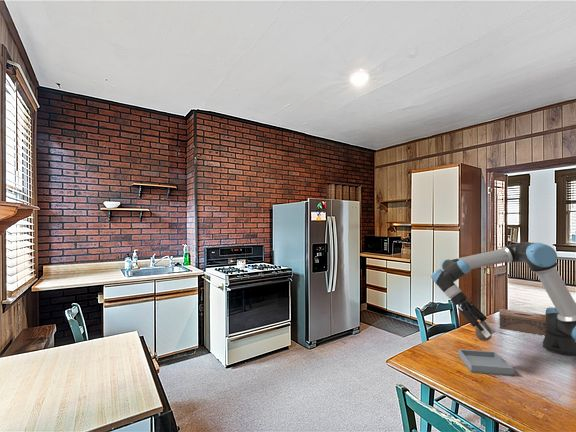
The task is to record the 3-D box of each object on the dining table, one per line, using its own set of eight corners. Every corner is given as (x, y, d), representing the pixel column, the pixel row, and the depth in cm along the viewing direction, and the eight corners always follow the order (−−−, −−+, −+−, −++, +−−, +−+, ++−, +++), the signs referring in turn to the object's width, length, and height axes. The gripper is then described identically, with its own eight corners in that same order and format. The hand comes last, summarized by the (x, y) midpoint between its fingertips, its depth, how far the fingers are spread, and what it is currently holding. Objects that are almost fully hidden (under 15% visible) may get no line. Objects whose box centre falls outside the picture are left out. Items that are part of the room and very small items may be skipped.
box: (495, 358, 155) (495, 351, 155) (514, 376, 138) (513, 368, 138) (458, 355, 159) (457, 349, 159) (471, 372, 141) (471, 365, 141)
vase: (489, 337, 151) (488, 320, 151) (493, 343, 144) (493, 325, 144) (473, 336, 153) (473, 319, 153) (477, 341, 146) (477, 323, 147)
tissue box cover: (547, 330, 195) (547, 315, 195) (550, 337, 183) (550, 321, 183) (499, 322, 210) (499, 308, 210) (499, 328, 198) (499, 313, 198)
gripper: (458, 296, 167) (492, 333, 154) (442, 302, 155) (478, 343, 142) (468, 288, 163) (504, 326, 150) (452, 294, 151) (490, 335, 138)
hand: (491, 334), depth 146 cm, fingers closed on vase, 6 cm apart
